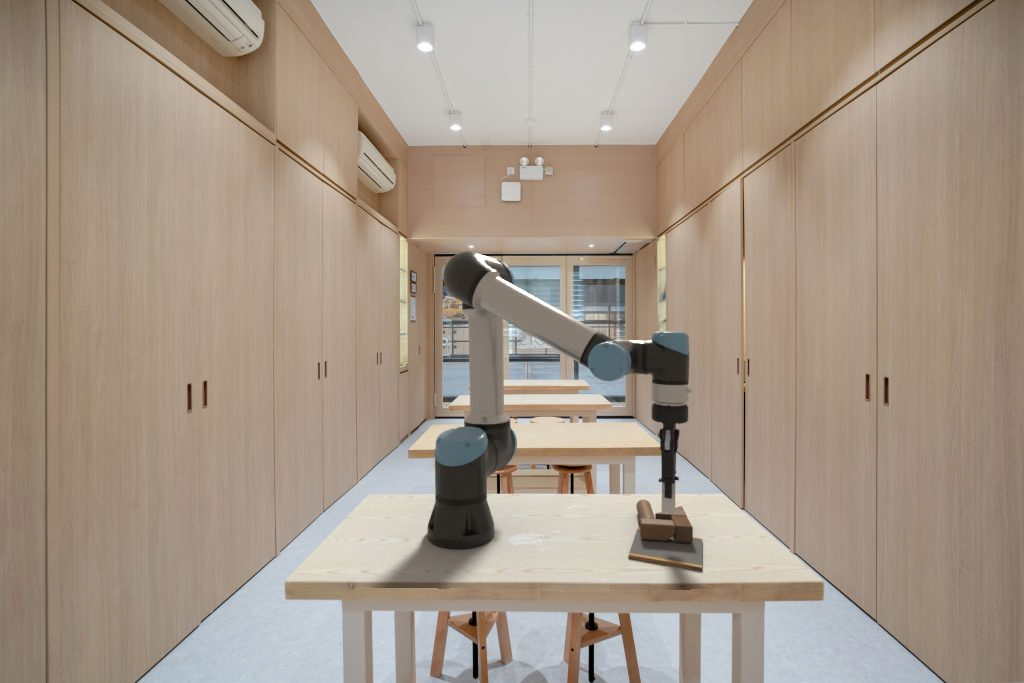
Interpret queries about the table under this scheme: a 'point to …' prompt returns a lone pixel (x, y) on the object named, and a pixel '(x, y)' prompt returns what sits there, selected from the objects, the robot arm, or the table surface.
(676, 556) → the mat
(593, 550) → the table surface
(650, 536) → the wooden block assembly
